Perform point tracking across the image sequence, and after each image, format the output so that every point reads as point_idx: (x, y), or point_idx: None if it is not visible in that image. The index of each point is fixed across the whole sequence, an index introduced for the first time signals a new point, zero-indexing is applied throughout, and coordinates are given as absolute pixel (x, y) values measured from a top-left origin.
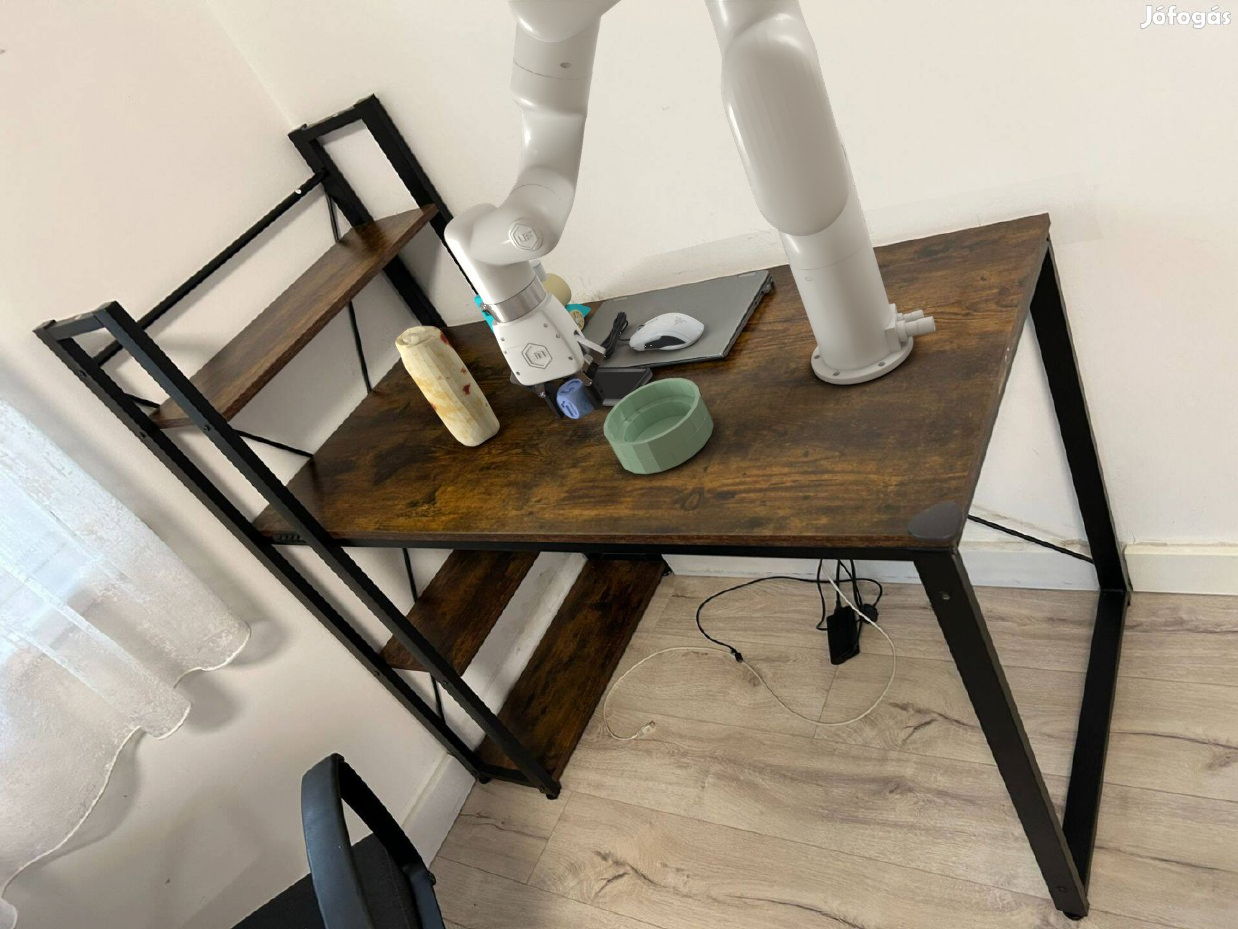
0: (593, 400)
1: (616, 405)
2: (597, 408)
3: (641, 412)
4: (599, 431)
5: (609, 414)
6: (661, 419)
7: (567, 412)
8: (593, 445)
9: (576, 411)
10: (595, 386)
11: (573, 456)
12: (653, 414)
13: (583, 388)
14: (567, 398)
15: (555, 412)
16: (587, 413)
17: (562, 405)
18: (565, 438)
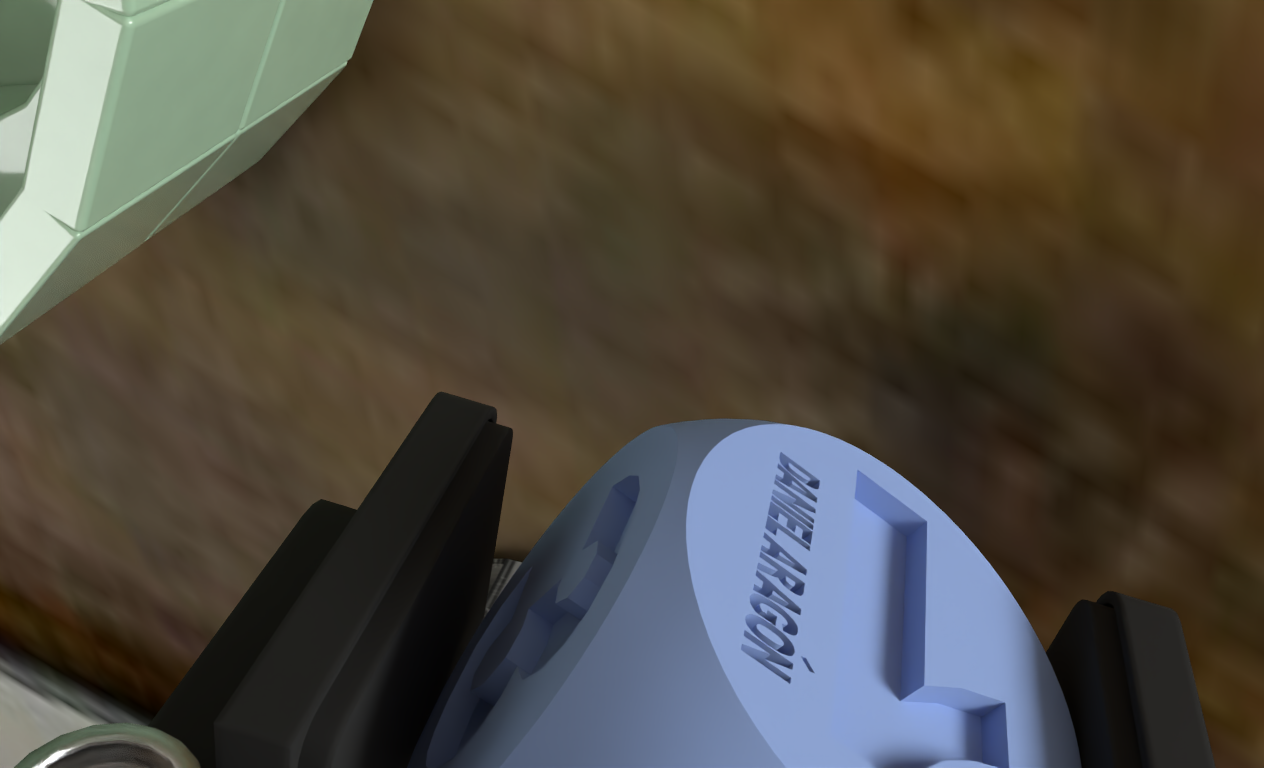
0: (378, 497)
1: (46, 206)
2: (455, 403)
3: (14, 119)
4: (779, 367)
5: (87, 12)
6: (35, 86)
7: (961, 602)
8: (854, 156)
9: (750, 478)
10: (190, 690)
11: (1153, 85)
12: (5, 111)
13: (289, 739)
14: (741, 747)
15: (1181, 712)
16: (654, 430)
17: (989, 747)
18: (1208, 500)
